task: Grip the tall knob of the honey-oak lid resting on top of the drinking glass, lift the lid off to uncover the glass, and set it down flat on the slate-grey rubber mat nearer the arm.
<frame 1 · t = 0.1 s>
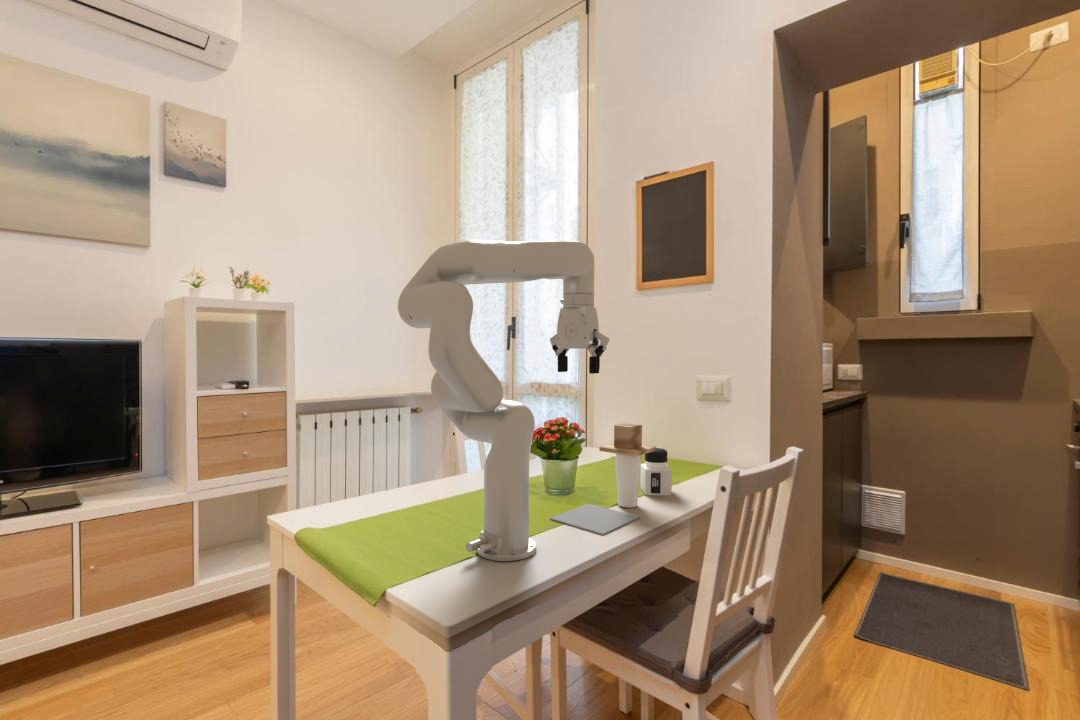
hand: (578, 372, 126), 37 cm above the table, tool pointing down, fingers open, 9 cm apart
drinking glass: (627, 506, 141), on the table, touching lid
lid: (627, 450, 140), point 15 cm above the table, touching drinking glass
mat: (594, 518, 130), on the table
container: (655, 492, 154), on the table
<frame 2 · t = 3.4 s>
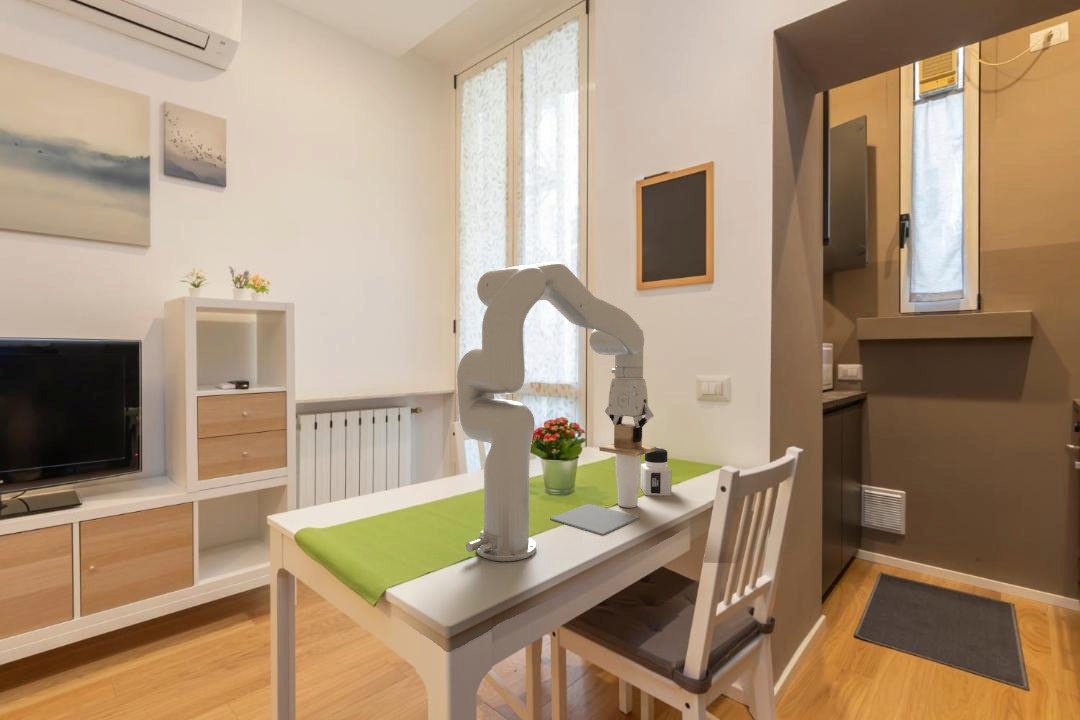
hand: (628, 439, 140), 18 cm above the table, tool pointing down, fingers closed on lid, 5 cm apart
lid: (627, 450, 140), point 15 cm above the table, touching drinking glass, gripper
everything else where it was.
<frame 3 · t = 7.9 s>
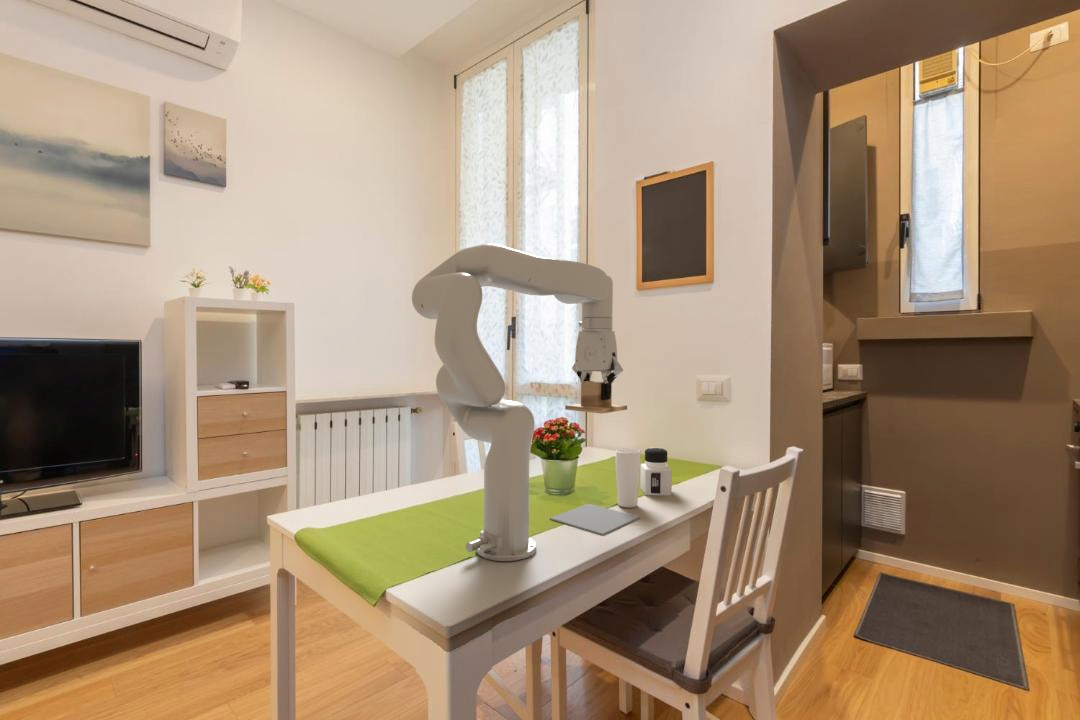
hand: (596, 397, 129), 30 cm above the table, tool pointing down, fingers closed on lid, 5 cm apart
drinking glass: (627, 506, 141), on the table
lid: (596, 409, 129), point 27 cm above the table, touching gripper
everything else where it was.
when the fingers open (5 cm above the table, at t = 12.7 s): lid drops 1 cm, resting on mat.
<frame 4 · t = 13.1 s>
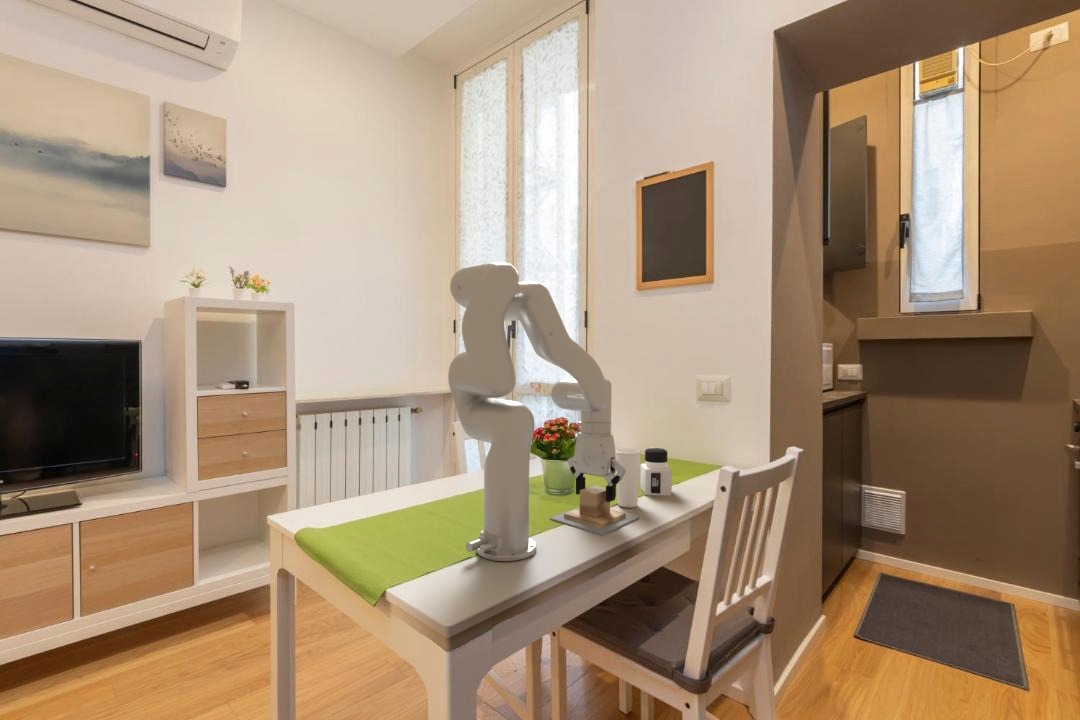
hand: (595, 496, 129), 6 cm above the table, tool pointing down, fingers open, 8 cm apart
lid: (594, 517, 129), resting on mat
everything else where it was.
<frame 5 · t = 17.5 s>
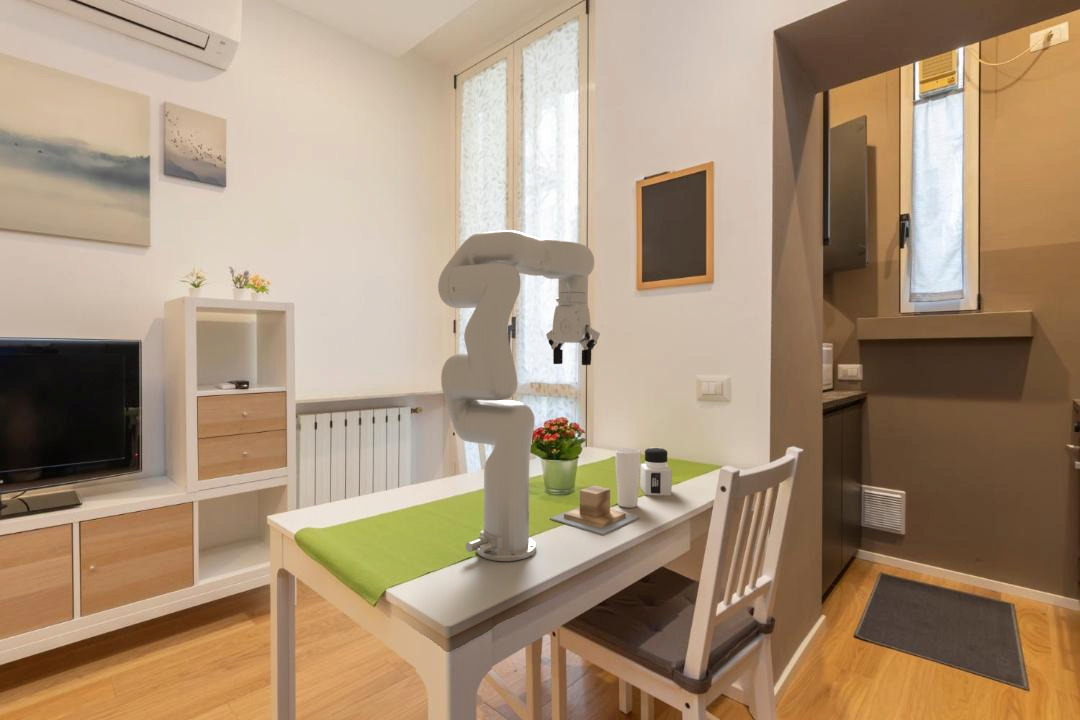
hand: (571, 364, 139), 38 cm above the table, tool pointing down, fingers open, 9 cm apart
nothing on the table moved.
at the end: lid inside the target area on the mat (0.1 cm from its centre), point 0.4 cm above the mat's base; lid tilted 0°; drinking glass tilted 0° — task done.
